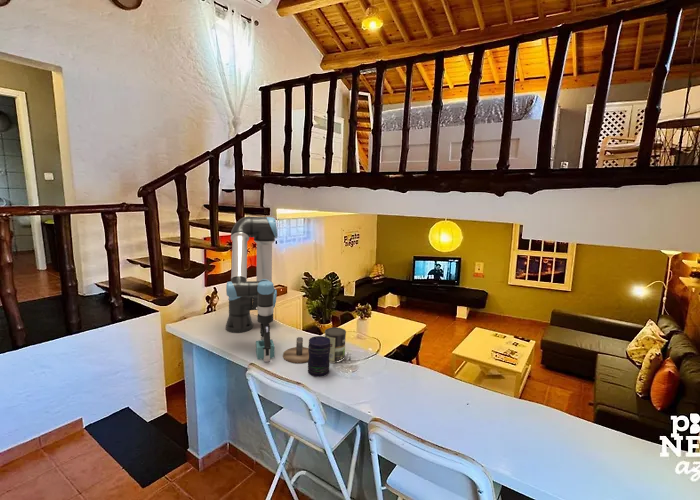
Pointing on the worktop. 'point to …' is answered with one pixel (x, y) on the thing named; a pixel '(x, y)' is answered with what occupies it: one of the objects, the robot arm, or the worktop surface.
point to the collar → (261, 351)
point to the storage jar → (318, 356)
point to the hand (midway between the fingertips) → (265, 354)
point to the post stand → (297, 353)
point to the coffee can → (336, 343)
